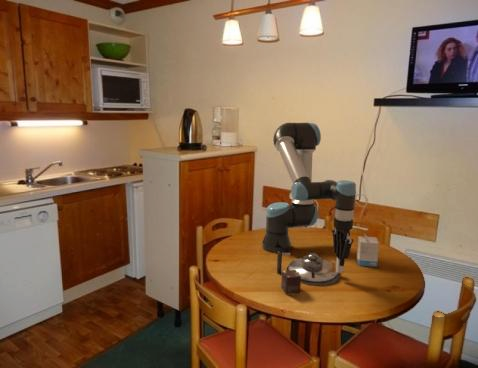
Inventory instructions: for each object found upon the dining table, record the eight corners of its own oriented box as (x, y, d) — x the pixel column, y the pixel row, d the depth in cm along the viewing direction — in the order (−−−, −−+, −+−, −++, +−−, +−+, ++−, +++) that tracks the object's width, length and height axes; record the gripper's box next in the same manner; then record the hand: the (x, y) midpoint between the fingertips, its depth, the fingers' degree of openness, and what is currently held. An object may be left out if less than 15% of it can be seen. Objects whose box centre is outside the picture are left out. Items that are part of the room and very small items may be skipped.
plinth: (276, 273, 152) (276, 272, 152) (303, 257, 169) (303, 257, 169) (323, 291, 138) (323, 290, 138) (348, 272, 155) (348, 271, 155)
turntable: (279, 272, 152) (279, 259, 151) (303, 257, 168) (304, 246, 167) (322, 288, 139) (323, 274, 138) (345, 270, 155) (346, 258, 153)
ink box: (377, 267, 160) (380, 239, 157) (358, 265, 162) (360, 238, 159) (374, 259, 168) (376, 233, 166) (356, 258, 170) (358, 232, 167)
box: (300, 293, 136) (301, 276, 135) (285, 295, 135) (286, 277, 133) (294, 286, 142) (295, 269, 140) (280, 287, 141) (281, 270, 139)
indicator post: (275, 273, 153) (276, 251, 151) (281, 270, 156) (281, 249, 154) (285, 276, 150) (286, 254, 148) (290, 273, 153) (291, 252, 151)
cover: (297, 267, 153) (298, 254, 152) (308, 261, 160) (309, 249, 158) (315, 274, 147) (316, 260, 146) (326, 267, 154) (327, 254, 152)
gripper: (361, 222, 137) (356, 277, 142) (343, 213, 149) (339, 264, 154) (344, 224, 135) (339, 279, 140) (327, 214, 147) (324, 265, 152)
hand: (339, 271), depth 147 cm, fingers closed
